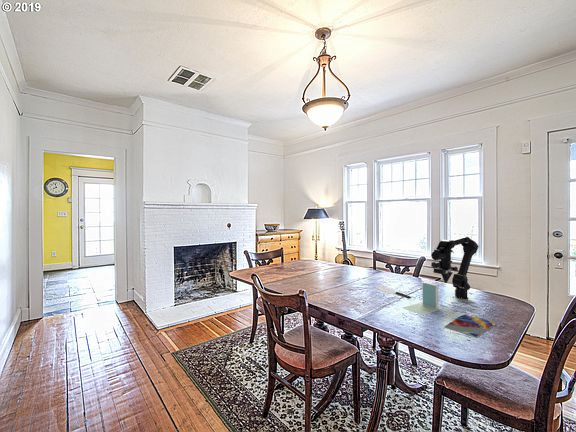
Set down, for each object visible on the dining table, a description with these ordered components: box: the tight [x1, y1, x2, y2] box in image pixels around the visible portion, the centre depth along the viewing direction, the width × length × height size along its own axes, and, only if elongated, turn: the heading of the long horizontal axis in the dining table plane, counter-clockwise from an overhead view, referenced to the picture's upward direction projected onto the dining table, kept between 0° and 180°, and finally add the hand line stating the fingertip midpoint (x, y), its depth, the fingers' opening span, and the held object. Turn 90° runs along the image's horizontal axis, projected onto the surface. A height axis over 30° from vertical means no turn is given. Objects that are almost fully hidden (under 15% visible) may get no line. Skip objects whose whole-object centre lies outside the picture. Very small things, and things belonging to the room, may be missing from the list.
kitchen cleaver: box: [374, 285, 412, 300], centre depth 203 cm, size 31×2×10 cm
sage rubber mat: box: [402, 301, 444, 316], centre depth 171 cm, size 20×14×1 cm
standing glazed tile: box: [422, 281, 439, 308], centre depth 174 cm, size 3×9×14 cm, turn 29°
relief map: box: [443, 314, 498, 339], centre depth 146 cm, size 25×15×2 cm, turn 126°
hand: (445, 282), depth 184 cm, fingers closed
